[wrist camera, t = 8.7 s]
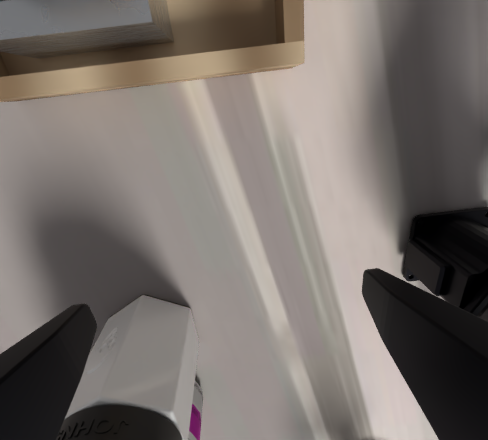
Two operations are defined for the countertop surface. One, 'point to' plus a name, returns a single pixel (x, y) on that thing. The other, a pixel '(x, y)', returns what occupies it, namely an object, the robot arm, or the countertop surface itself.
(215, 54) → the oak box
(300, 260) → the countertop surface
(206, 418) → the countertop surface
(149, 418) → the jar
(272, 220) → the countertop surface
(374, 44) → the countertop surface
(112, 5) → the socket
